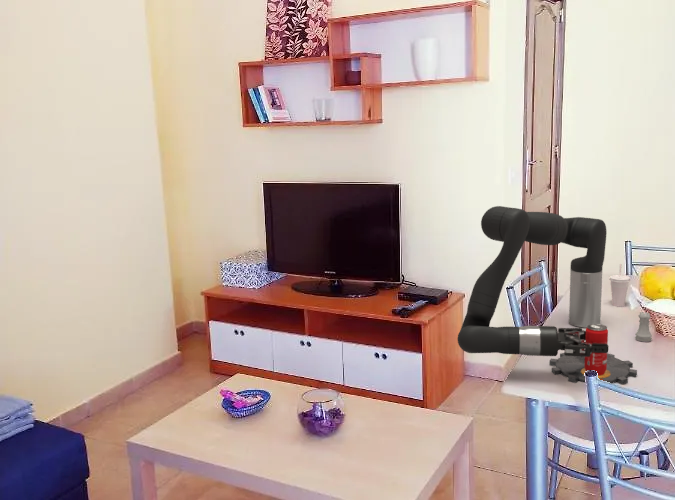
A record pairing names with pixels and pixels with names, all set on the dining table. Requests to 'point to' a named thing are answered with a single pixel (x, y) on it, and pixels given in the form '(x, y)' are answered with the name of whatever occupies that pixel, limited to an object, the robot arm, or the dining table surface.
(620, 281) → the smoothie
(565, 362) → the sprocket
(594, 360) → the beverage can
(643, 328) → the rook chess piece
